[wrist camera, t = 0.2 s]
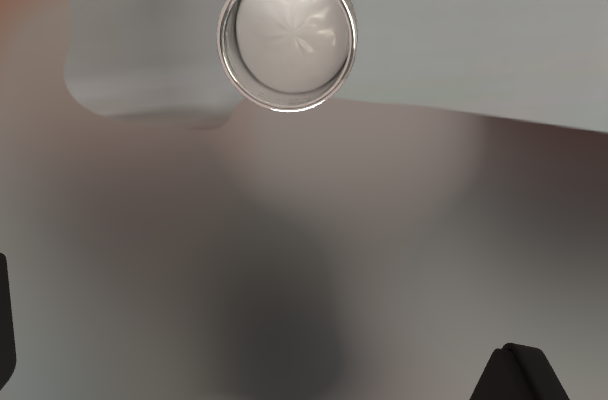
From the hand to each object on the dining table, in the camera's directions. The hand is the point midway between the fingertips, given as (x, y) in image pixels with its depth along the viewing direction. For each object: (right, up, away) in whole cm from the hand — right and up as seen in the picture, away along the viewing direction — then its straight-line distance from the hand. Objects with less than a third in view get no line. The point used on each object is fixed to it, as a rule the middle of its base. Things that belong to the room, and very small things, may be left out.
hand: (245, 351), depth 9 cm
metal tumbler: (+1, +17, +26) cm, 31 cm away
